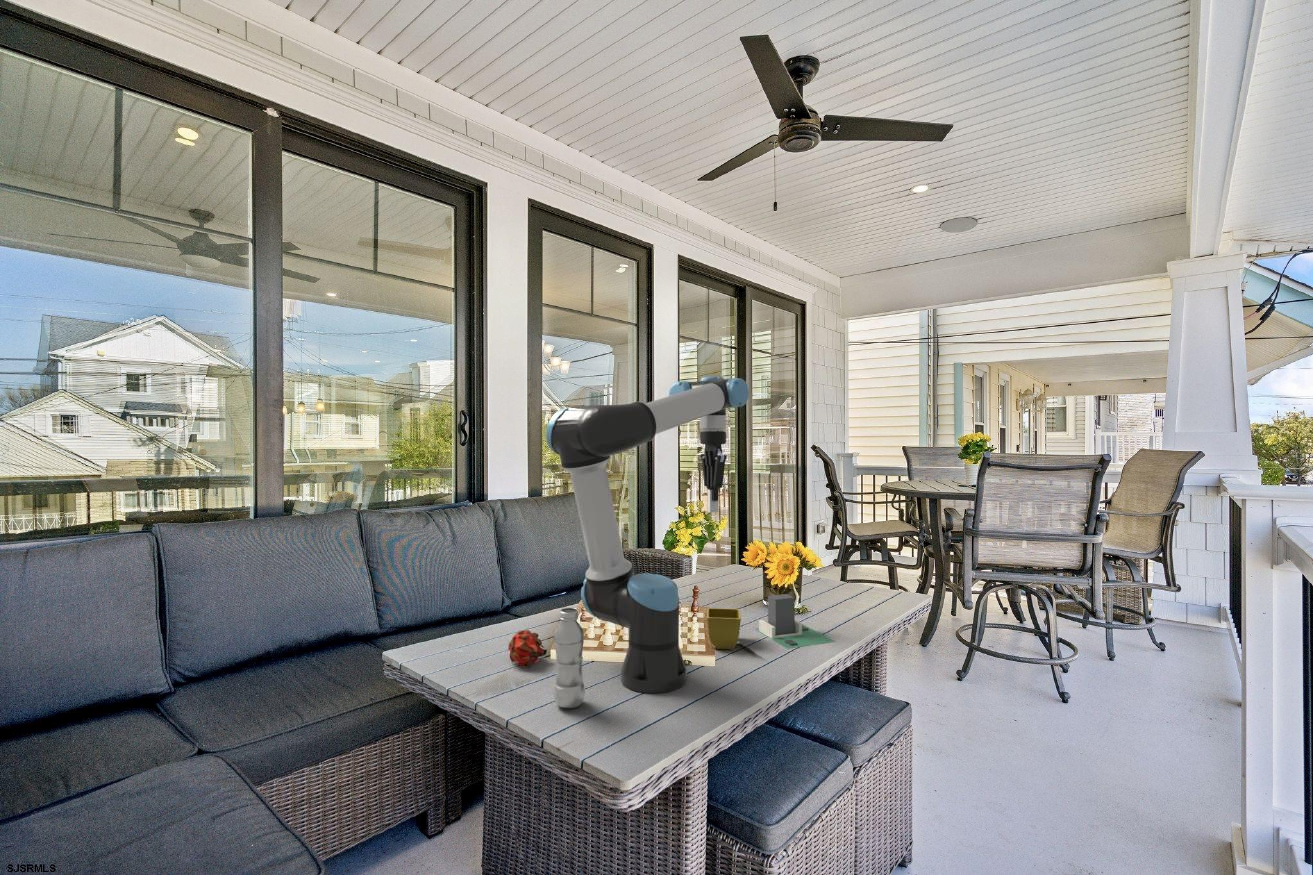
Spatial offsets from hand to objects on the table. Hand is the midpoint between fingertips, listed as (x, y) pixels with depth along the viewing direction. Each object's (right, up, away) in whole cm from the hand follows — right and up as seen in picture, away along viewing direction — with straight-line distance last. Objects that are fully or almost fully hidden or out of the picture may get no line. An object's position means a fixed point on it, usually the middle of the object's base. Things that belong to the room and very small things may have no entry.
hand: (713, 511), depth 176 cm
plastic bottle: (-35, -35, -48) cm, 69 cm away
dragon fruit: (-49, -35, -25) cm, 65 cm away
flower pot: (+2, -35, -14) cm, 37 cm away
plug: (+18, -33, -7) cm, 38 cm away
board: (+21, -34, -9) cm, 41 cm away
